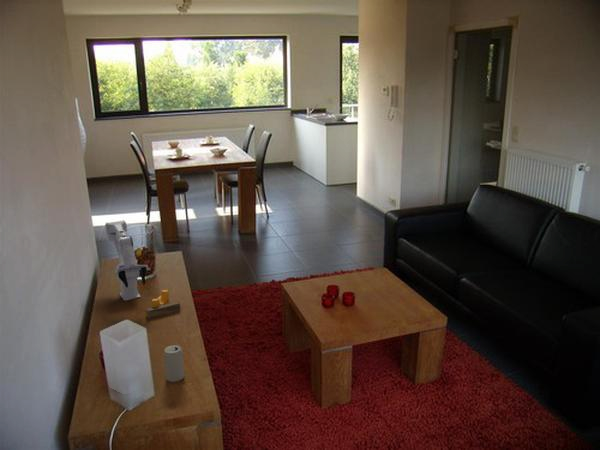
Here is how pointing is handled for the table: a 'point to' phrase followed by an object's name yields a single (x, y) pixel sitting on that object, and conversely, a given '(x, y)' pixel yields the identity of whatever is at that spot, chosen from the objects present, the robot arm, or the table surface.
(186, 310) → the table surface
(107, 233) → the robot arm
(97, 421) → the table surface
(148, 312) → the bar
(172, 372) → the beverage can
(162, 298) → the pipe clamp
